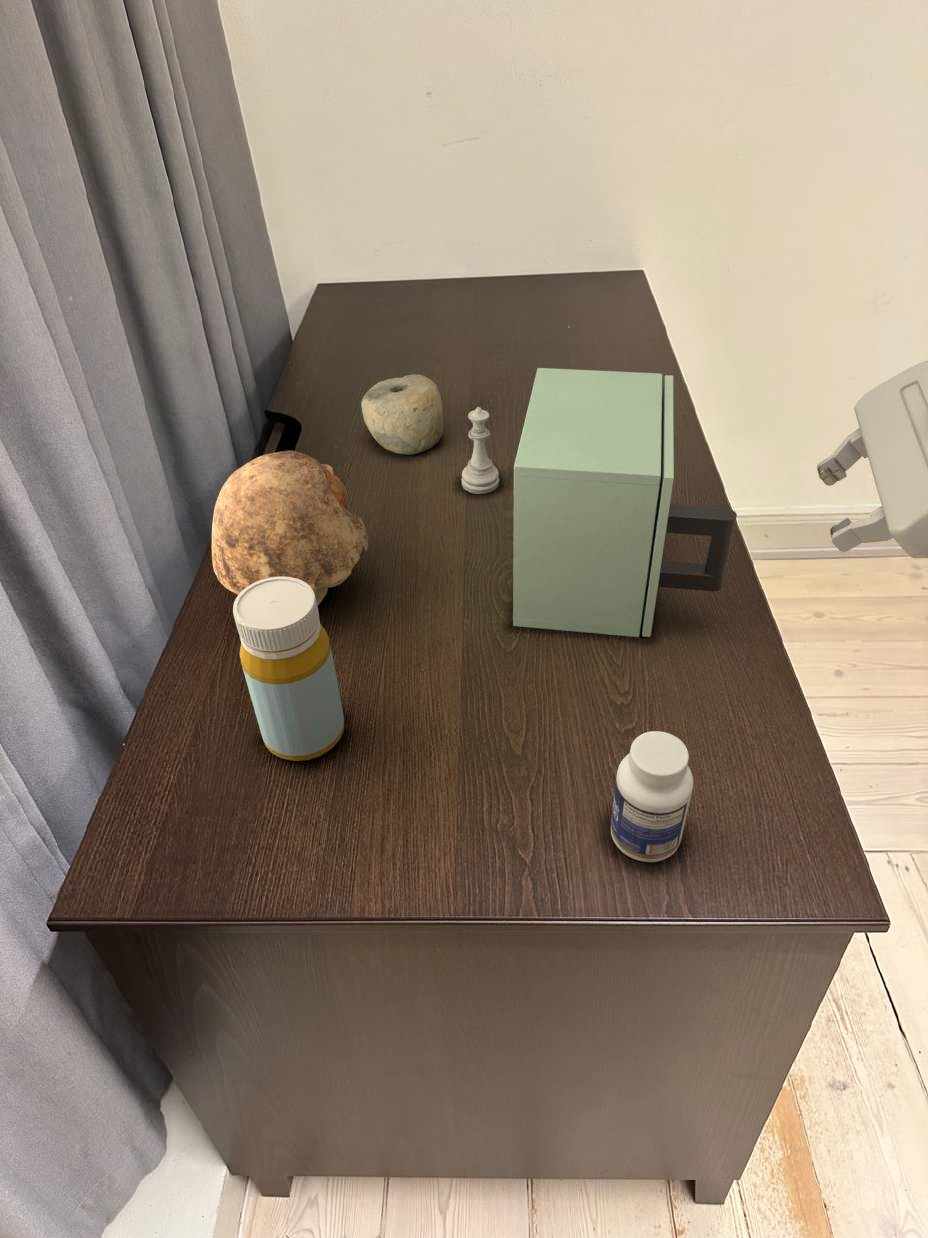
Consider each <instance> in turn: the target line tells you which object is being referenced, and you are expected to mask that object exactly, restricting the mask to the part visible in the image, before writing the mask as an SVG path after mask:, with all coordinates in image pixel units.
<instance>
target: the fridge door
mask: <svg viewBox="0 0 928 1238" xmlns="http://www.w3.org/2000/svg"><path fill="white" fill-rule="evenodd" d="M674 431H675V429H674V375H672V374H671V375H669V374H665V375H664V378H663V384H662V426H661V478H660V485H659V493H658V501H657V508H656V515H655V523H654V530H653V538H652V545H651V553H650V560H649V567H648V575H647V582H646V590H645V597H644V605H643V612H642V621H641V636H642V637H645V638H646V637H647V638H651V636H652V630H653V624H654V617H655V611H656V610H655V608H656V604H657V603H656V602H657V595H658V588H667V589H678V590H679V589H680V590H690V591H691V590H693V591H704V592H719V591H720V590H722V588H723V584H724V579H725V574H726V569H727V565H728V560H729V555H730V550H731V547H732V540H733V536H734V531H735V526H736V521H737V518H738V514H737V512H736V511H735V510H734V509H731V508H727V507H715V506H714V507H713V506H699V505H687V504H686V505H685V504H672V503H671V500H672V494H673V493H672V492H673V487H674V479H675V465H674V463H675V457H674V456H675V453H674V452H675V451H674V447H675V446H674V444H675V443H674V441H675V438H674V435H675V434H674ZM667 533H668V534H680V535H681V534H682V535H693V536H707V537H708V536H709V537H710V538H709V544H708V549H707V553H706V555H707V556H706V560H705V563H701V562H690V561H689V562H688V561H676V560H675V561H674V560H665V559H664V560H663V555H664V548H665V541H666V536H667V535H666V534H667Z"/></svg>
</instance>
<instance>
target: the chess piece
mask: <svg viewBox="0 0 928 1238" xmlns="http://www.w3.org/2000/svg"><path fill="white" fill-rule="evenodd" d="M467 418H468V419H469V421H470V422H471V423H472V427H471V429H470V430H469V431H468V438H469V439H470V440H471V441H473V450H472V455H471V458H470V459H468V461H467V465H466V466H465V467H464V469H463V470H462V472H461V486H462V488H463V490H465V491H467V492H468V493H471V494H476V495H484V494H489V493H491V492H494V491H495V490H496V489H497V488H498V487H499V485H500V477H499V473H500V472H499V470H498V469H497V467H496V466H495V465H494V464H493V462H492V459H491V458H489V457H488V453H487V448H486V440H488V439H489V438H490V435H491V433H490V431H489V429H487V427H486V422H487V421H488V420H489V418H490V413H489V412H488V411H487V410H484V409H482V408H481V407H480V406H477V407H476V408H475V410H471V411H470V412H469V413H468V415H467Z"/></svg>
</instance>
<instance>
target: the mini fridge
mask: <svg viewBox="0 0 928 1238" xmlns="http://www.w3.org/2000/svg"><path fill="white" fill-rule="evenodd" d="M662 393H663V373H659V372H658V373H656V372H633V371H613V370H594V369H592V370H591V369H573V368H551V367H548V368H547V367H537V369H536V372H535V377H534V380H533V386H532V389H531V394H530V399H529V401H528V407H527V411H526V415H525V418H524V423H523V428H522V431H521V435H520V440H519V444H518V448H517V454H516V456H515V459H514V465H513V570H512V571H513V583H512V588H513V589H512V591H513V593H512V594H513V596H512V597H513V599H512V600H513V601H512V604H513V605H512V609H513V610H512V612H513V613H512V624H513V625H512V626H514V627H522V628H533V629H541V630H542V629H544V630H555V631H566V632H577V633H586V634H587V633H588V634H598V635H599V634H600V635H610V636H620V637H631V638H632V637H633V638H639V637H640V634H641V628H642V620H643V605H644V597H645V590H646V582H647V575H648V567H649V560H650V553H651V545H652V538H653V530H654V523H655V515H656V508H657V501H658V493H659V485H660V478H661V426H662Z"/></svg>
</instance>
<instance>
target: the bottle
mask: <svg viewBox="0 0 928 1238" xmlns="http://www.w3.org/2000/svg"><path fill="white" fill-rule="evenodd" d="M232 614H233V618H234V622H235V626H236V629H237V632H238V635H239V640H240V642H241V643H240V647H239V657H240V664H241V668H242V671H243V674H244V678H245V682H246V684H247V688H248V692H249V695H250V700H251V702H252V706H253V710H254V713H255V717H256V720H257V724H258V728H259V731H260V734H261V738H262V740H263V743H264V745H265V747H266V748H267V750H268V751H269V752H270V753H271V754H273V755H274V756H276V757H278V758H280V759H283V760H288V761H293V762H301V761H310V760H313V759H316V758H319V757H321V756H322V755H325V754H327V752H329V751H331V750H332V749H333V748H334V747H335V746H336V745H337V744H338V743H339V741H340V740H341V738H342V736H343V733H344V732H345V731H344V730H345V716H344V712H343V706H342V700H341V694H340V689H339V685H338V678H337V674H336V669H335V664H334V663H335V662H334V657H333V652H332V651H333V650H332V647H331V642H330V637H329V635H328V633H327V631H326V630H325V628H324V627H323V625H322V623H321V622H320V621H321V620H320V613H319V607H318V606H317V602H316V597H315V594H314V592H313V590H312V588H311V587H310V586H309V585H308V584H307V583H305V582H304V581H302V580H299V579H296V578H292V577H271V578H266V579H263V580H260V581H257V582H255V583H253V584H251V585H249V586H248V587H246V588H245V589H244V590H243V591H241V592H240V594H239V595H238V594H237V596H236V598H235V599H234V602H233V607H232Z"/></svg>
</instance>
